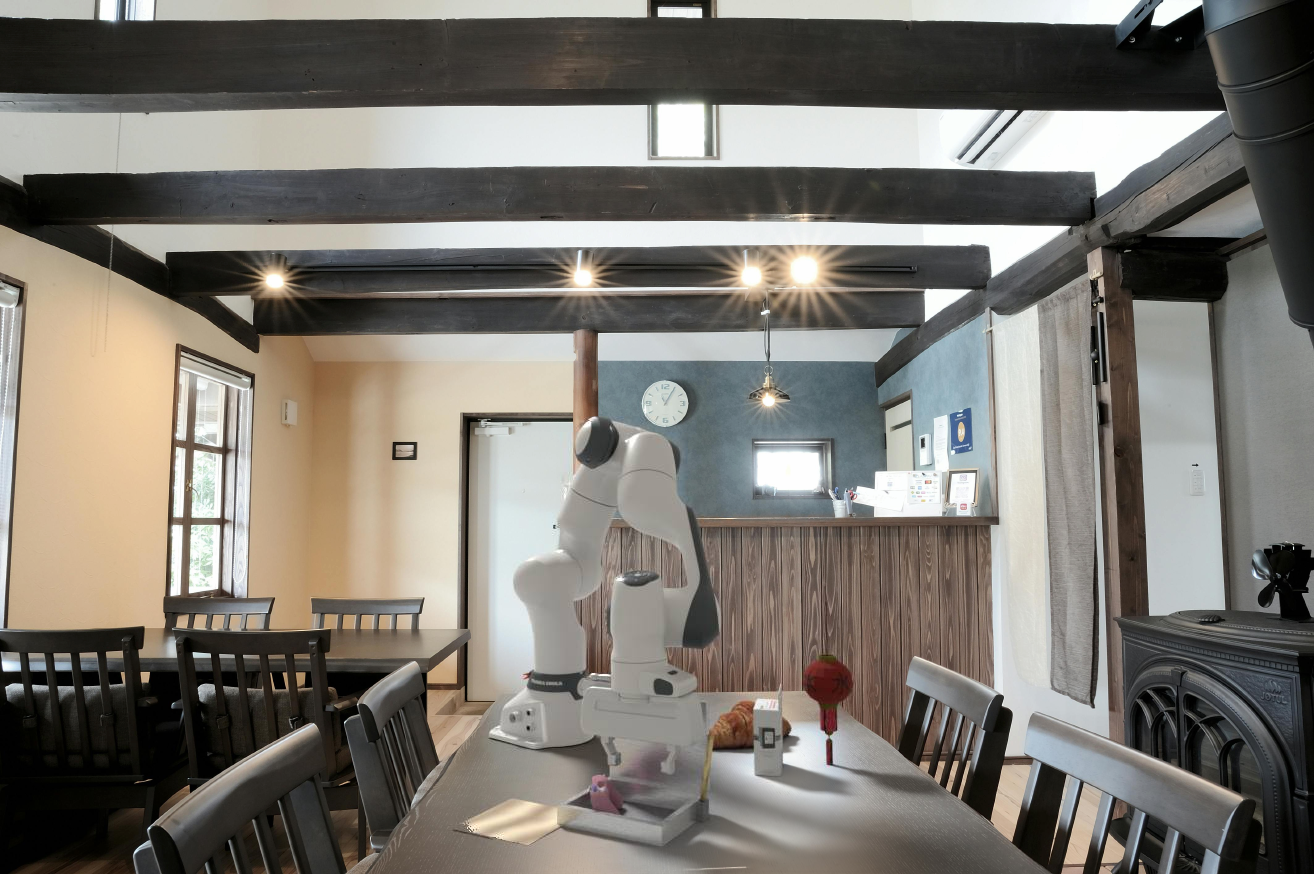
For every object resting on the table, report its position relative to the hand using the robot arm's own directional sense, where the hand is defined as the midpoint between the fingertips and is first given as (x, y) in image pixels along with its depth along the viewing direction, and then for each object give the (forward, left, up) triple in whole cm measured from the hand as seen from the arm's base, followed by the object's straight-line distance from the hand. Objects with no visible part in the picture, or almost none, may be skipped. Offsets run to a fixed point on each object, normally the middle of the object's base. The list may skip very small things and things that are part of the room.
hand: (640, 768), depth 128 cm
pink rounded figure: (-5, -1, -8) cm, 10 cm away
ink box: (+8, +34, -8) cm, 36 cm away
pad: (-16, -9, -8) cm, 20 cm away
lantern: (+17, +42, -8) cm, 46 cm away
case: (-1, 0, -8) cm, 8 cm away
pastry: (-3, +49, -9) cm, 50 cm away
